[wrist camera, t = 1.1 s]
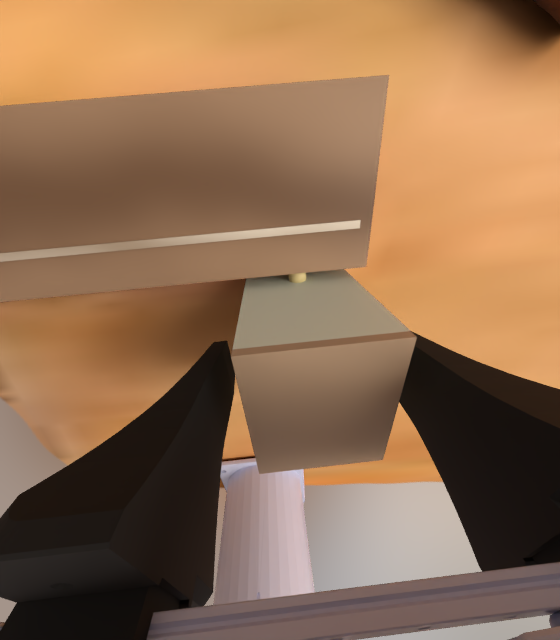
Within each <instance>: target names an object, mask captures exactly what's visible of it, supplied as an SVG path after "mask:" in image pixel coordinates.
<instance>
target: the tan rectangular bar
mask: <svg viewBox="0 0 560 640" xmlns="http://www.w3.org/2000/svg"><path fill="white" fill-rule="evenodd" d="M388 80H389V75H383V76H370V77H358V78H345V79H333V80H320V81H308V82H295V83H282V84H270V85H257V86H245V87H232V88H220V89H207V90H194V91H182V92H169V93H157V94H144V95H131V96H119V97H106V98H94V99H81V100H69V101H56V102H43V103H31V104H18V105H6V106H0V302H8V301H19V300H29V299H39V298H49V297H60V296H70V295H80V294H91V293H101V292H111V291H122V290H132V289H142V288H153V287H163V286H173V285H184V284H194V283H204V282H215V281H225V280H235V279H246V278H256V277H266V276H276V275H287V274H297V273H307V272H318V271H328V270H338V269H349V268H359V267H366V265H367V257H368V248H369V240H370V231H371V223H372V215H373V206H374V198H375V189H376V181H377V172H378V164H379V156H380V147H381V139H382V130H383V122H384V113H385V105H386V97H387V88H388Z"/></svg>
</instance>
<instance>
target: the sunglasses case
mask: <svg viewBox="0 0 560 640" xmlns="http://www.w3.org/2000/svg"><path fill="white" fill-rule="evenodd" d="M533 1H534V2H535V3H536V4H537V5H539V6H540V7H541V8H543V9H544V10H545V11H547V12H548V13H549V14H550V15H552V17H553V18H554V19H555V20H556V21H557V22H558V23H559V24H560V0H533Z"/></svg>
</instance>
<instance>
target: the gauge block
mask: <svg viewBox="0 0 560 640" xmlns="http://www.w3.org/2000/svg"><path fill="white" fill-rule="evenodd" d="M416 339H417V337H416V336H415V335H414V334H413V333H412V332H411V331H410V330H409V329H408V328H407V327H406V326H405V325H404V324H402V323H401V322H400V321H399V320H398V319H397V318H396V317H395V316H394V315H393V314H392V313H391V312H389V311H388V310H387V309H386V308H385V307H384V306H383V305H382V304H381V303H380V302H379V301H378V300H377V299H375V298H374V297H373V296H372V295H371V294H370V293H369V292H368V291H367V290H366V289H365V288H364V287H362V286H361V285H360V284H359V283H358V282H357V281H356V280H355V279H354V278H353V277H352V276H351V275H350V274H348V273H347V272H346V271H345V270H344V269H338V270H328V271H318V272H307V273H297V274H287V275H276V276H266V277H256V278H246V282H245V287H244V292H243V298H242V303H241V308H240V313H239V318H238V323H237V328H236V333H235V339H234V344H233V349H232V354H231V358H232V363H233V367H234V371H235V375H236V379H237V383H238V388H239V392H240V396H241V400H242V404H243V408H244V413H245V417H246V421H247V425H248V429H249V433H250V438H251V442H252V446H253V450H254V454H255V458H256V463H257V467H258V471H259V474H265V473H273V472H282V471H291V470H299V469H308V468H317V467H325V466H334V465H343V464H351V463H360V462H369V461H377V460H383V457H384V454H385V450H386V447H387V443H388V439H389V436H390V432H391V429H392V425H393V421H394V418H395V414H396V411H397V407H398V403H399V400H400V396H401V393H402V389H403V386H404V382H405V378H406V375H407V371H408V368H409V364H410V360H411V357H412V353H413V350H414V346H415V342H416Z"/></svg>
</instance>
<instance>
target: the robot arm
mask: <svg viewBox="0 0 560 640" xmlns="http://www.w3.org/2000/svg"><path fill="white" fill-rule="evenodd" d="M411 332H412V331H411ZM412 333H413V334H414V335H415V336H416V337H417V339H416V342H415V346H414V350H413V353H412V357H411V360H410V364H409V368H408V371H407V375H406V378H405V382H404V386H403V389H402V393H401V396H400V400H399V402H400V404H401V405H402V407H403V408H404V410H405V411H406V413H407V414H408V416H409V417H410V419H411V420H412V422H413V424H414V425H415V427H416V429H417V431H418V432H419V434H420V436H421V438H422V440H423V442H424V444H425V446H426V448H427V450H428V451H429V453H430V455H431V457H432V460H433V462H434V464H435V466H436V468H437V470H438V472H439V474H440V476H441V478H442V480H443V482H444V484H445V486H446V489H447V491H448V493H449V495H450V498H451V500H452V502H453V504H454V506H455V509H456V511H457V513H458V516H459V518H460V520H461V523H462V525H463V527H464V529H465V532H466V535H467V537H468V539H469V542H470V544H471V547H472V549H473V552H474V554H475V557H476V559H477V562H478V564H479V566H480V568H481V570H482V572H476V573H468V574H460V575H451V576H443V577H436V578H428V579H420V580H412V581H404V582H395V583H387V584H379V585H371V586H363V587H355V588H348V589H339V590H331V591H323V592H316V593H315V591H314V583H313V576H312V568H311V560H310V553H309V545H308V537H307V530H306V522H305V514H304V507H303V503H304V502H305V494H304V472H303V469H299V470H291V471H282V472H273V473H265V474H259V471H258V467H257V463H256V458H250V459H242V460H233V461H224V462H222V456H223V448H224V442H225V436H226V431H227V426H228V421H229V416H230V411H231V406H232V401H233V395H234V384H235V371H234V367H233V363H232V359H231V355H230V351H229V347H228V343H227V341H221V342H214V343H213V344H212V345H211V346H210V347H209V348H208V349H207V351H206V352H205V353H204V354H203V355H202V356H201V358H200V359H199V360H198V361H197V362H196V363H195V364H194V365H193V367H192V368H191V369H190V370H189V371H188V372H187V373H186V374H185V375H184V376H183V377H182V378H181V379H180V380H179V381H178V382H177V383H176V384H175V385H174V386H173V387H172V388H171V389H170V390H169V391H168V392H167V393H166V394H165V395H164V396H163V397H162V398H160V399H159V400H158V401H157V402H156V403H155V404H153V405H152V406H151V407H150V408H149V409H148V410H146V411H145V412H144V413H143V414H141V415H140V416H139V417H137V418H136V419H135V420H133V421H132V422H131V423H129V424H128V425H127V426H126V427H124V428H123V429H122V430H120V431H119V432H118V433H116V434H115V435H113V436H112V437H111V438H109V439H108V440H106V441H105V442H103V443H102V444H100V445H99V446H98V447H96V448H95V449H93V450H91V451H90V452H88V453H87V454H85V455H84V456H82V457H81V458H79V459H78V460H76V461H75V462H73V463H71V464H70V465H68V466H67V467H65V468H63V469H62V470H60V471H58V472H57V473H55V474H53V475H52V476H50V477H48V478H47V479H45V480H43V481H42V482H40V483H38V484H37V485H35V486H33V487H32V488H30V489H28V490H27V491H25V492H23V493H21V494H20V495H19V496H18V497H17V498H16V499H15V501H14V502H13V503H12V504H11V506H10V507H9V508H8V509H7V511H6V512H5V513H4V514H3V515H2V517H1V518H0V597H2V598H5V599H8V600H11V601H14V602H17V604H16V605H15V607H14V609H13V611H12V612H11V614H10V616H9V617H8V619H7V620H6V622H5V623H4V622H0V640H357V639H364V638H372V637H380V636H388V635H395V634H402V633H411V632H418V631H426V630H434V629H442V628H450V627H457V626H465V625H473V624H480V623H489V622H496V621H504V620H511V619H520V618H527V617H535V616H543V615H550V620H549V621H550V625H551V628H549V629H543V630H537V631H532V632H526V633H523V634H521V635H519V636H518V637H515V638H512V639H509V640H560V389H557V388H553V387H550V386H547V385H543V384H540V383H537V382H534V381H531V380H527V379H524V378H521V377H518V376H515V375H512V374H509V373H506V372H504V371H501V370H498V369H496V368H493V367H490V366H487V365H485V364H482V363H480V362H477V361H475V360H472V359H470V358H468V357H465V356H463V355H461V354H458V353H456V352H454V351H451V350H449V349H447V348H445V347H443V346H441V345H439V344H436V343H434V342H432V341H430V340H428V339H426V338H424V337H422V336H420V335H418V334H416V333H414V332H412ZM220 477H221V480H222V482H223V485H224V487H225V490H226V492H227V495H226V504H225V512H224V520H223V529H222V537H221V545H220V553H219V561H218V570H217V578H216V587H215V595H214V603H213V605H211V606H204V605H205V604H206V602H207V601H208V599H209V598H210V596H211V594H212V593H213V580H214V561H215V542H216V541H215V540H216V527H217V511H218V498H219V487H220ZM551 614H552V615H551Z"/></svg>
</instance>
